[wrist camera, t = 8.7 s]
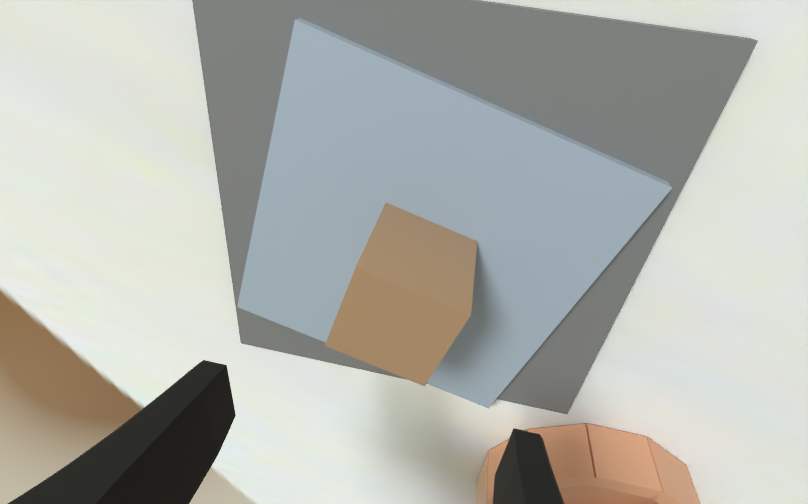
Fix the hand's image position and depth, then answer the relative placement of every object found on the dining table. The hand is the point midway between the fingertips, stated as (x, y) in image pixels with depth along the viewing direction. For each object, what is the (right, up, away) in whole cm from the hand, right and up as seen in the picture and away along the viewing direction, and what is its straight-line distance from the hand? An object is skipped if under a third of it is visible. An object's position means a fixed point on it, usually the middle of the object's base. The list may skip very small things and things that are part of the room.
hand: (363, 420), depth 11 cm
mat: (+2, +5, +8) cm, 10 cm away
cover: (+2, +4, +8) cm, 9 cm away
